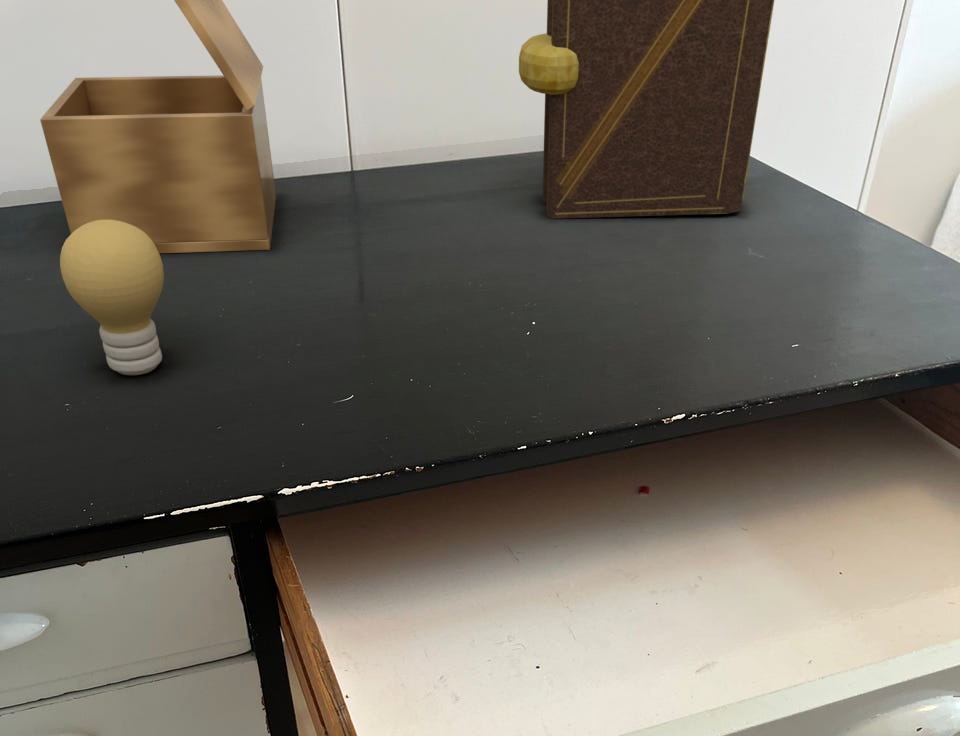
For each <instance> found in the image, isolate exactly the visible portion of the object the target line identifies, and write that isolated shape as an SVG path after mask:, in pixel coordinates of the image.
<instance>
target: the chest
mask: <svg viewBox="0 0 960 736" xmlns="http://www.w3.org/2000/svg"><path fill="white" fill-rule="evenodd" d="M264 97H265V96H264V89H263V81H262V78H261V79H260V84H259V88H258V93H257V97H256V102H255V106H254V107H253V108H251V109H250V110H248V111H247V110H246V109H245V107H244V106H243V104H242V103H241V101H240V100H239V98H238V96H237V95H236V93H235V92H234V90H233V89H232V87H231V86H230V84H229V83H228V81H227V80H226V78H225V77H224V75H223V74H219V75H216V74H215V75H163V76H162V75H161V76H159V75H158V76H108V77H107V76H104V77H100V76H99V77H97V76H96V77H94V76H93V77H75V78H74V79H73V80H72V81H71V82H70V83H69V85H68V86H67V87H66V88H65V89H64V90H63V92H62V93H61V94H60V95H59V97H57V98H56V100H55V101H54V102H53V103H52V104H51V106H50V107H49V108H48V109H47V110H46V112H45V113H44V114H43V115H42V116H41V118H40V124H41V128H42V132H43V136H44V139H45V144H46V147H47V152H48V155H49V158H50V162H51V165H52V170H53V174H54V176H55V181H56V185H57V188H58V191H59V195H60V199H61V204H62V207H63V210H64V215H65V218H66V222H67V225H68V230H69V233H70V235H71V234H72V233H73V232H74V231H75V230H76V229H78V228H79V227H81V226H82V225H85V224H87V223H89V222H92V221H96V220H116V221H121V222H125V223H128V224H130V225H133V226H135V227H137V228H138V229H140V230H142V231H143V232H144V233H146V234H147V235H148V236H149V237H150V239H151V240H152V241H153V243H154V244H155V246H156V248H157V250H158V252H159V254H184V253H188V254H189V253H214V252H215V253H217V252H244V251H246V252H247V251H270V250H271V245H272V238H273V237H272V235H273V226H274V219H275V211H276V201H277V192H276V191H277V190H276V184H275V183H276V182H275V176H274V169H273V168H274V167H273V159H272V153H271V145H270V137H269V128H268V120H267V112H266V105H265V98H264Z"/></svg>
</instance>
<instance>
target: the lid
mask: <svg viewBox="0 0 960 736" xmlns="http://www.w3.org/2000/svg"><path fill="white" fill-rule="evenodd" d="M173 1H174V2H175V4H176V5H177V7H178V8H179V10H180V11H181V13H182V14H183V16H184V18H185V19H186V20H187V22H188V24H189V25H190V26H191V28H192V29H193V32H194V33H195V34H196V36H197V37H198V39H199V40H200V41H201V43H202V45H203V46H204V48H205V49H206V51H207V52H208V54H209V56H210V57H211V58H212V60H213V62H214V63H215V65H216V66H217V68H218V69H219V71H220V72H221V75H224V77H225V78H226V80H227V81H228V83H229V84H230V86H231V87H232V89H233V90H234V92H235V93H236V95H237V96H238V98H239V100H240V101H241V103H242V104H243V106H244V107H245V109H246V110H247V111H248V110H250V109H251V108H253V107H254V106H255V102H256V97H257V93H258V88H259V84H260V79H261V80H262V75H263V69H264V65H263V63H262V62H261V60H260V59H259V57H258V55H257V53H256V52H255V51H254V49H253V48H252V46H251V44H250V43H249V41H248V39H247V37H246V36H245V34H244V33H243V31H242V30H241V28H240V27H239V25H238V24H237V21H236V20H235V19H234V17H233V15H232V14H231V12H230V10H229V8H228V7H227V6H226V4H225V2H224V1H223V0H173Z"/></svg>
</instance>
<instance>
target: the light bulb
mask: <svg viewBox="0 0 960 736" xmlns="http://www.w3.org/2000/svg"><path fill="white" fill-rule="evenodd" d="M60 251H61V252H60V255H59V266H60V267H59V268H60V273H61V277H62V279H63V280H62V281H63V282H64V283H63V284H64V285H65V287H66V290H67V291H68V293H69V295H70V296H71V297H72V299H73V300H74V301H75V302H76V304H77V305H78V306H79V307H80V308H82V310H83V311H85V312H86V313H87V314H88V315H89V316H90V317H92V318H93V319H94V320H96V322H98V323H99V324H100V326H99V329H98V332H99V336H100V340H101V341H102V347H103V351H104V354H105V358H106V363H107V365H108V367H109V368H110V369H111V370H113V371H115V372H117V373H118V374H120V375H124V376H139V375H145V374H147V373H150V372H152V371H153V370H155V369H156V368H157V367H158V366H159V364H160V363H161V362H162V360H163V354H162V350H161V348H160V341H159V337H158V335H157V327H156V324H155V321H154V320H153V319H151V316H152V314H153V312H154V311H155V308H156V306H157V304H158V302H159V298H160V297H161V294H162V292H163V287H164V281H165V272H164V264H163V261H162V257H161V253H159V252H158V250H157V248H156V246H155V244H154V243H153V241H152V240H151V239H150V237H149V236H148V235H147V234H146V233H144V232H143V231H142V230H140V229H138V228H137V227H135V226H133V225H130V224H128V223H125V222H121V221H116V220H96V221H92V222H89V223H87V224H85V225H82V226H81V227H79V228H78V229H76V230H75V231H74V232H73V233H72V234H71V233H70V235H69V236H68V237H67V238H66V239H65V241H64V242H63V245H62V247H61V250H60Z"/></svg>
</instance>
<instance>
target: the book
mask: <svg viewBox="0 0 960 736" xmlns="http://www.w3.org/2000/svg"><path fill="white" fill-rule="evenodd" d="M546 4H547V5H546V6H547V7H546V9H547V10H546V11H547V12H546V33H541V34H536V35H533V36H531V37H530V38H528V39H527V40H526V41H525V42H524V43H523V44H522V45H521V47H520V51H519V54H518V75H519V77H520V81H521V82H522V83H523V84H524V85H525V86H526V87H527V88H528V89H529V90H531V91H533V92H536V93H540V94H544V119H543V121H544V123H543V125H544V126H543V157H542V158H543V159H542V160H543V162H542V163H543V164H542V194H541V195H542V197H541V198H542V202H543V203H544V204H546V210H545V215H546V218H548V219H552V220H553V219H554V220H555V219H582V218H583V219H585V218H587V219H588V218H589V219H590V218H617V217H619V218H621V217H647V216H648V217H655V216H656V217H657V216H684V215H685V216H686V215H688V216H689V215H722V214H723V215H725V214H731V213H738V212H740V211H741V209H742V207H743V203H744V202H743V201H744V196H745V190H746V189H745V188H746V183H747V175H748V169H749V163H750V158H751V151H752V145H753V139H754V138H753V137H754V131H755V125H756V120H757V113H758V107H759V100H760V96H761V95H760V93H761V87H762V81H763V75H764V69H765V62H766V58H767V57H766V56H767V49H768V44H769V37H770V32H771V24H772V18H773V13H774V12H773V11H774V5H775V0H547V3H546Z"/></svg>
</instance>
